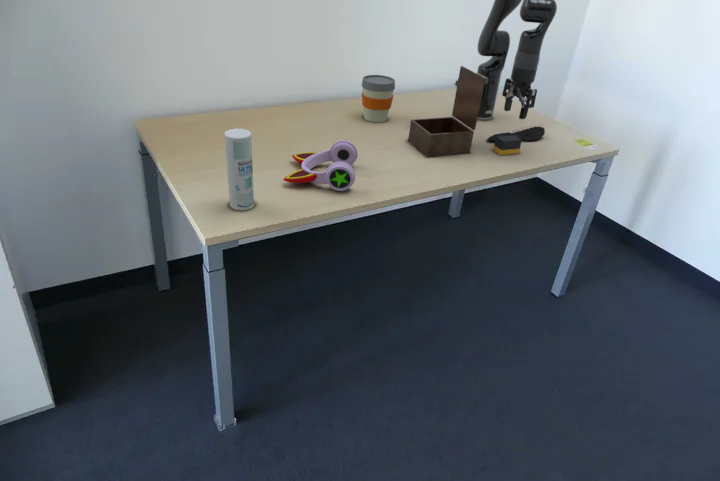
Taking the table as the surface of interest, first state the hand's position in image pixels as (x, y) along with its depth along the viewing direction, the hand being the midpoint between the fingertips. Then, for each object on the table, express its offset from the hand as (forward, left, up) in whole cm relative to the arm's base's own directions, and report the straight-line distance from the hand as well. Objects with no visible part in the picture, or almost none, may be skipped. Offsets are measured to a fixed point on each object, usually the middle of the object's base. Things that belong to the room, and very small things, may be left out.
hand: (514, 114), depth 178 cm
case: (-9, -22, -13) cm, 27 cm away
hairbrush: (-10, +11, -14) cm, 20 cm away
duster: (0, 0, -13) cm, 13 cm away
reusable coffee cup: (-40, -33, -14) cm, 54 cm away
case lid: (-9, -14, +4) cm, 17 cm away
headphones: (+4, -69, -14) cm, 70 cm away
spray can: (+16, -95, -14) cm, 97 cm away
